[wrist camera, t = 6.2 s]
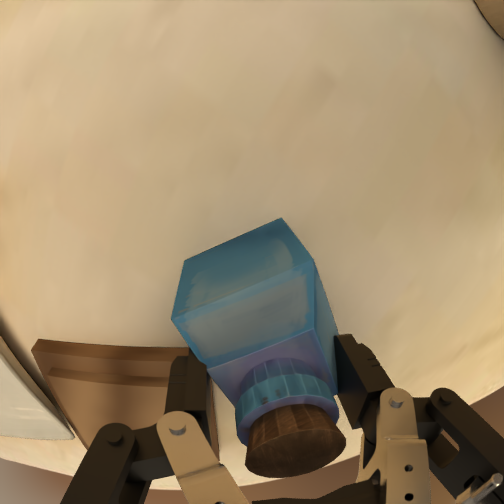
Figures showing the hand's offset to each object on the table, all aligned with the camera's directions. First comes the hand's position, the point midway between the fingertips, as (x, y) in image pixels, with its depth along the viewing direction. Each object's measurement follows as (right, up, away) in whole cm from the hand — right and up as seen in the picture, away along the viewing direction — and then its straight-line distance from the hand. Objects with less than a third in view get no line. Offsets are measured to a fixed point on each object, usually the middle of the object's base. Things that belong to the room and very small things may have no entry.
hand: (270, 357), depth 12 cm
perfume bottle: (-1, +3, +7) cm, 7 cm away
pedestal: (-11, -9, +10) cm, 17 cm away
